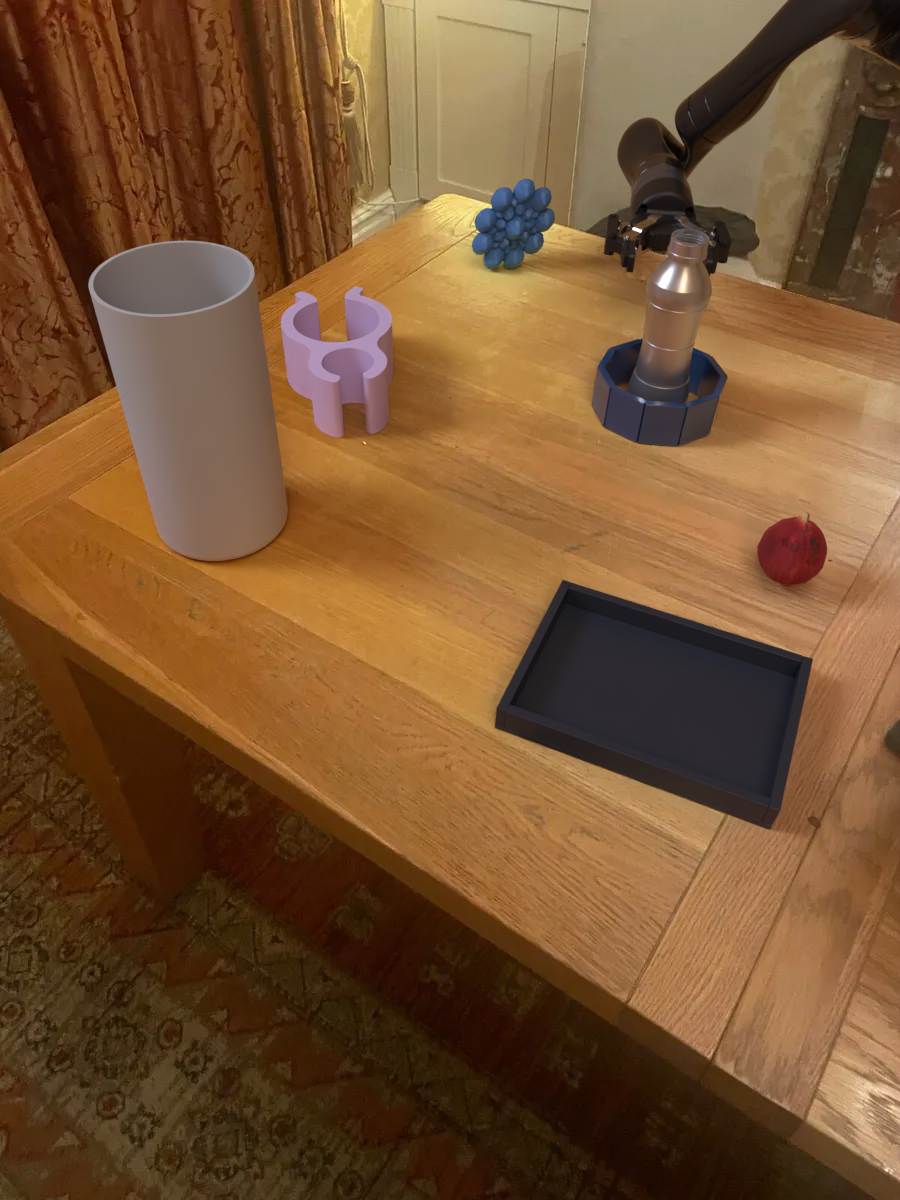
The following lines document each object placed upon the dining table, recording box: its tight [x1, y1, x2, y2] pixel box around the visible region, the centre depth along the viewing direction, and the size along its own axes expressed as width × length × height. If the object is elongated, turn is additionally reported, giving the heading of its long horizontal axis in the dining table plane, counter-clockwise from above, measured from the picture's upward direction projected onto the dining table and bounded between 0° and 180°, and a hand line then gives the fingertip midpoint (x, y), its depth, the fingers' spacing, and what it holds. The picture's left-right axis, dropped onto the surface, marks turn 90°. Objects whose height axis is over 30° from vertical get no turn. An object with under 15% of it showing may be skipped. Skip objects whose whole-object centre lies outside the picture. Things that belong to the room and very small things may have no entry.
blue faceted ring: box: [591, 338, 729, 448], centre depth 101 cm, size 14×14×5 cm
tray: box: [494, 579, 814, 830], centre depth 73 cm, size 22×16×3 cm
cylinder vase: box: [88, 240, 289, 562], centre depth 79 cm, size 12×12×25 cm
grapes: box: [471, 178, 556, 270], centre depth 123 cm, size 12×7×12 cm, turn 106°
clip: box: [280, 286, 395, 439], centre depth 103 cm, size 20×12×7 cm, turn 12°
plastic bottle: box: [627, 229, 713, 404], centre depth 96 cm, size 6×7×20 cm
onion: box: [756, 510, 828, 586], centre depth 81 cm, size 6×6×8 cm
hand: (669, 267), depth 101 cm, fingers open, 8 cm apart
